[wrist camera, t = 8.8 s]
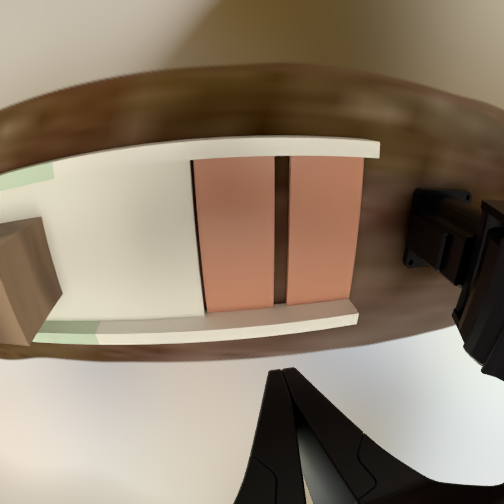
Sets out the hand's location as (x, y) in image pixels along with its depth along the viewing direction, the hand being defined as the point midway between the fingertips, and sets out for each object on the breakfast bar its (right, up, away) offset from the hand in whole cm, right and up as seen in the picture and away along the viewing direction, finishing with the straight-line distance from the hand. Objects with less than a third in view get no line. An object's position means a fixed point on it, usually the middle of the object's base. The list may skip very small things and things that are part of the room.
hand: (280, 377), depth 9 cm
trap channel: (-7, +4, +10) cm, 13 cm away
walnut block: (-18, +3, +8) cm, 20 cm away
